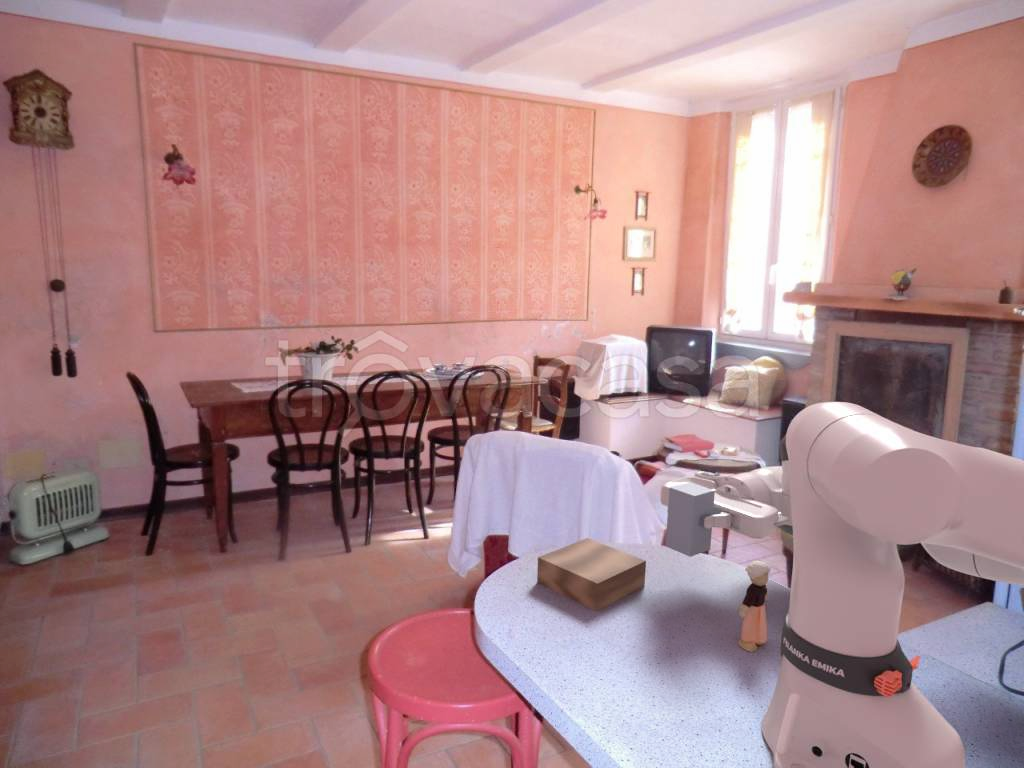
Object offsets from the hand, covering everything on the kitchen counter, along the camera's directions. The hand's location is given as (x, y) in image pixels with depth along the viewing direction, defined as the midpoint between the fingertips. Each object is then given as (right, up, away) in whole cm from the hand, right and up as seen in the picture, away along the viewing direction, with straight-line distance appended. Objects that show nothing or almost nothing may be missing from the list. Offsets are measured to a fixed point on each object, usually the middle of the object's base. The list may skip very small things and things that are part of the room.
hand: (686, 516), depth 110 cm
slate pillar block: (+1, -5, +1) cm, 6 cm away
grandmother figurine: (+7, -17, -9) cm, 21 cm away
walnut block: (-14, -14, +8) cm, 21 cm away
